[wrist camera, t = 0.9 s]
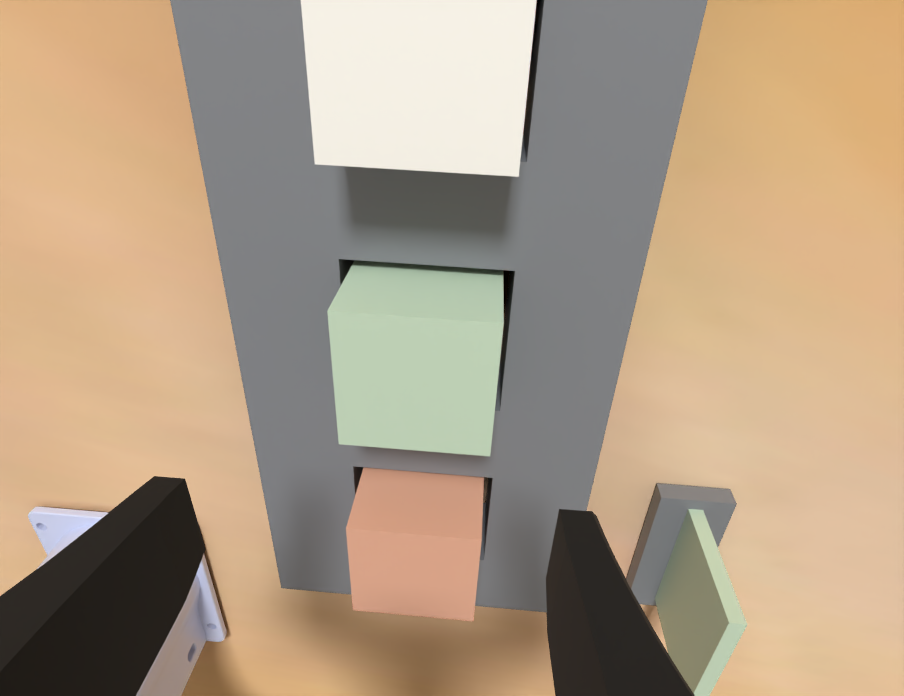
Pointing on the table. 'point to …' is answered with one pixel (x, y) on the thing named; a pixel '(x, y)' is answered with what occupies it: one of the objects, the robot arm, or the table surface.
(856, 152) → the table surface
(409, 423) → the sage block
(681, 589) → the card
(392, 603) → the terracotta block
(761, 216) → the table surface
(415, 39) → the cream block
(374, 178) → the button board
